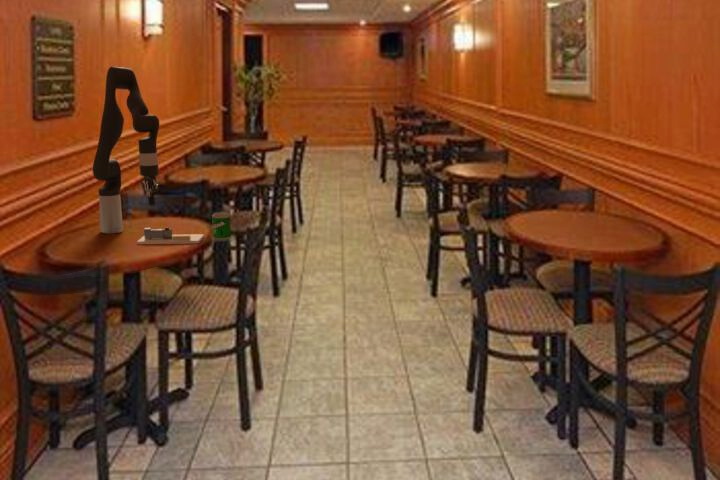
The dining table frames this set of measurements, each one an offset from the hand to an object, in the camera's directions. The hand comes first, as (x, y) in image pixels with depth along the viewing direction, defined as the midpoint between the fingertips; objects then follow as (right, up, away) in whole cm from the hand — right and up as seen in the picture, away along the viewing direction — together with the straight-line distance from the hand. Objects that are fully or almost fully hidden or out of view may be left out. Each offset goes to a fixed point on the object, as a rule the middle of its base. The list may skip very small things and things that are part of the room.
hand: (151, 205), depth 320 cm
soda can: (+27, -15, +12) cm, 33 cm away
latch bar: (+1, -14, +9) cm, 17 cm away
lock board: (+5, -15, +11) cm, 19 cm away
